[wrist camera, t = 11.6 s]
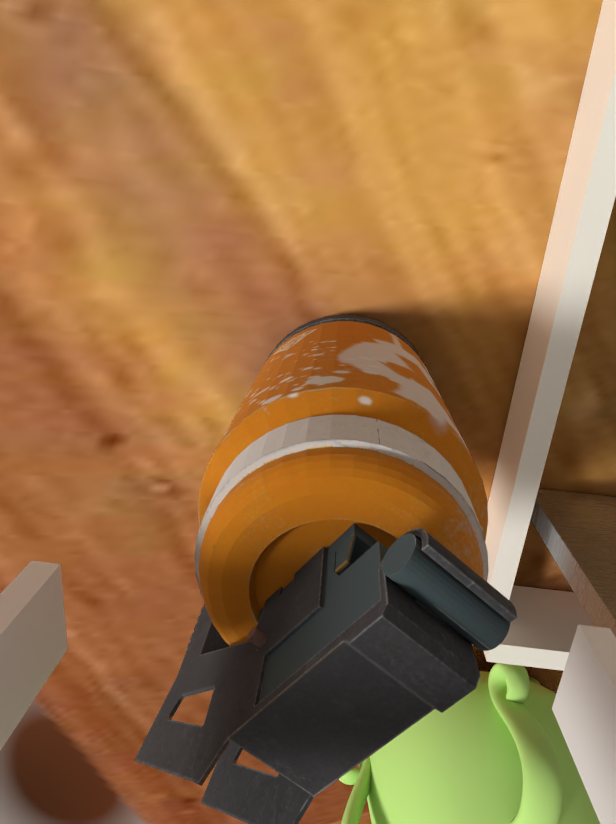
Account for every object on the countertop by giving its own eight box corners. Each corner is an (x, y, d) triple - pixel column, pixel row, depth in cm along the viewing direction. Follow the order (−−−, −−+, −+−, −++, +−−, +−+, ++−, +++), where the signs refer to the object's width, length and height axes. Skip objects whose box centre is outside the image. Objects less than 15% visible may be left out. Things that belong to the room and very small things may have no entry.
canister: (465, 390, 28) (705, 748, 9) (325, 524, 31) (289, 988, 12) (337, 274, 26) (308, 417, 8) (204, 428, 30) (-45, 792, 11)
